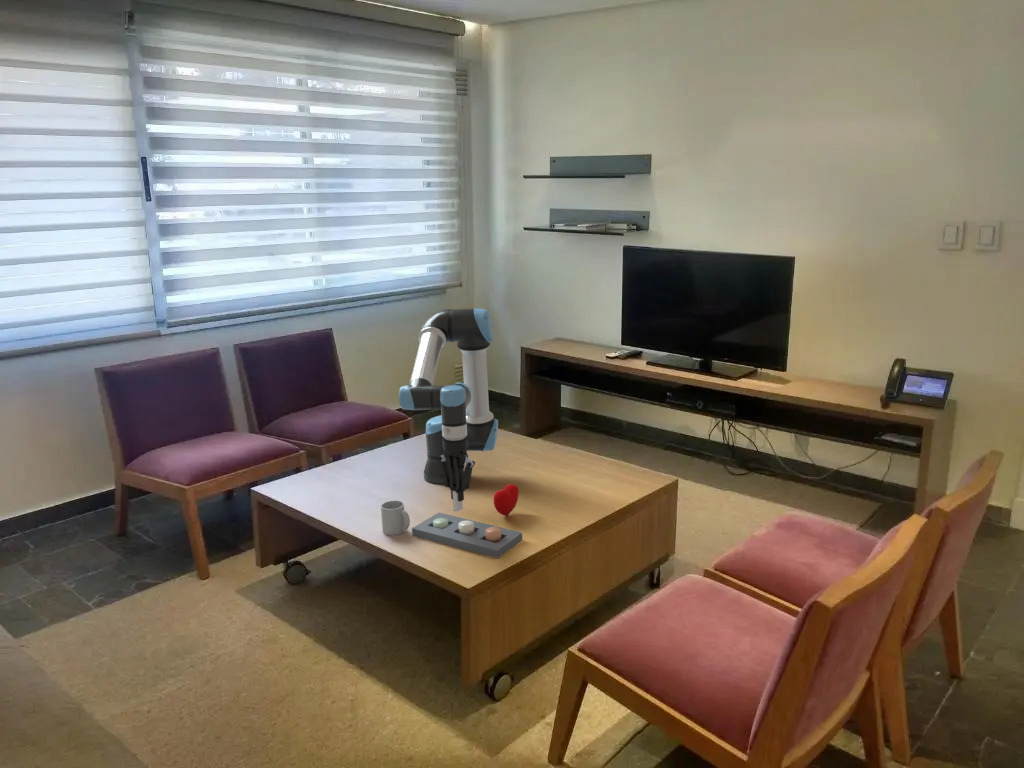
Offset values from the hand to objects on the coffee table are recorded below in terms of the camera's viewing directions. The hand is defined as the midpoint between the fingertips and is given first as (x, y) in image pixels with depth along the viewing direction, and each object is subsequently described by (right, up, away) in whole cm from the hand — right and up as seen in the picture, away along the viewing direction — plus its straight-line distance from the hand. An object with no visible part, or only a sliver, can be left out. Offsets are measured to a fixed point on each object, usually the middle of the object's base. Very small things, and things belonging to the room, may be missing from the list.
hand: (458, 509), depth 246 cm
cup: (-20, -8, +7) cm, 23 cm away
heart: (+15, -5, +17) cm, 23 cm away
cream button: (+3, -7, +1) cm, 8 cm away
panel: (+3, -9, +2) cm, 9 cm away
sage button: (-6, -7, +7) cm, 12 cm away
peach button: (+11, -8, -4) cm, 14 cm away
